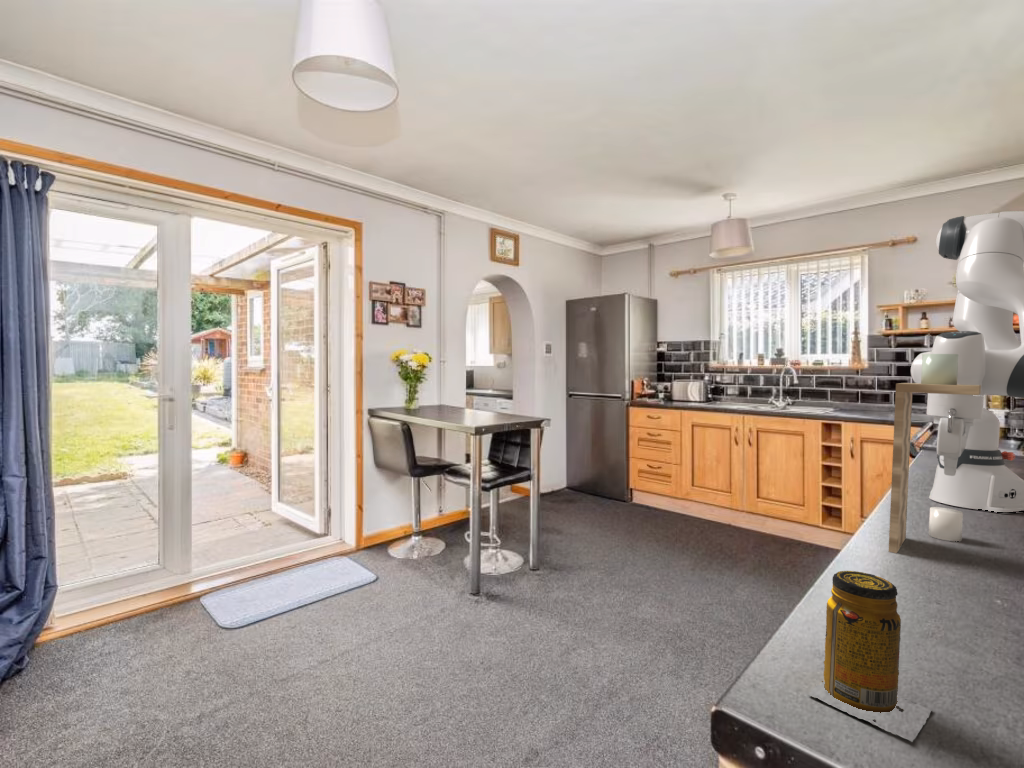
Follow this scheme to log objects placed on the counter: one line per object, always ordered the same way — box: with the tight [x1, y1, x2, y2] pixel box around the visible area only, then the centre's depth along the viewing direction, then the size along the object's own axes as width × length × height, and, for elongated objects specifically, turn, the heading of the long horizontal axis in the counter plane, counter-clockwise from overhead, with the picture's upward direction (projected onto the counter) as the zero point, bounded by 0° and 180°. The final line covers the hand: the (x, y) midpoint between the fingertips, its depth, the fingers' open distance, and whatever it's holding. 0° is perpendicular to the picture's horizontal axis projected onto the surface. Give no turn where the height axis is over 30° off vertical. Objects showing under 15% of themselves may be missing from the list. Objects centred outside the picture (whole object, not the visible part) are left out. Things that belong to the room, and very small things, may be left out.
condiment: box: [823, 570, 902, 713], centre depth 50 cm, size 7×8×12 cm
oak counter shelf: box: [888, 382, 981, 554], centre depth 93 cm, size 12×11×30 cm
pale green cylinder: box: [921, 354, 959, 385], centre depth 92 cm, size 5×5×5 cm
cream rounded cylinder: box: [928, 506, 964, 542], centre depth 102 cm, size 5×5×5 cm
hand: (949, 474), depth 107 cm, fingers closed
